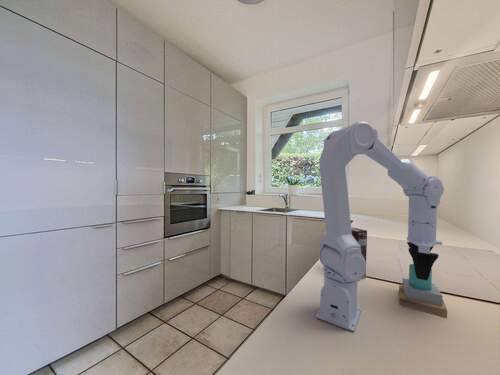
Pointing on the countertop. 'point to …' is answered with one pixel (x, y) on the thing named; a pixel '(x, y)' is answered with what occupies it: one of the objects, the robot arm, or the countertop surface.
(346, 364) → the countertop surface
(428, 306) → the tower base
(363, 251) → the supplement box
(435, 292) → the tower top
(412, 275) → the cylinder
